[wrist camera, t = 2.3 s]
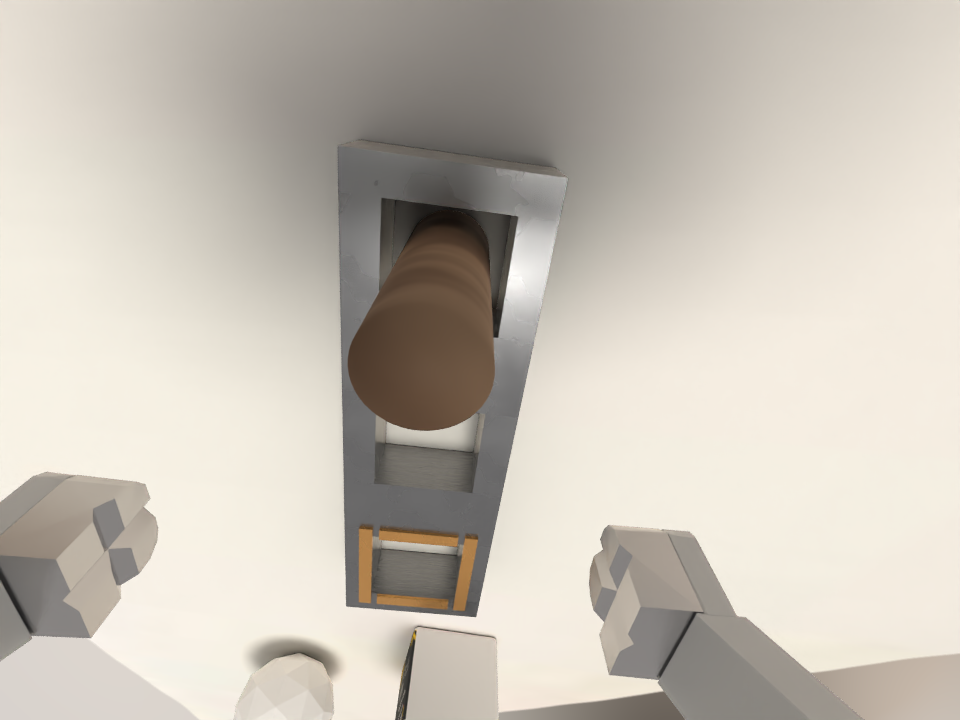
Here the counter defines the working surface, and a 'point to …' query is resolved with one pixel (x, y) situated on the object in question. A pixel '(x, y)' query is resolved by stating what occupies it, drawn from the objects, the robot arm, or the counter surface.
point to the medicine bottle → (449, 677)
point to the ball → (287, 691)
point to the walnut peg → (429, 329)
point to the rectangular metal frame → (479, 475)
